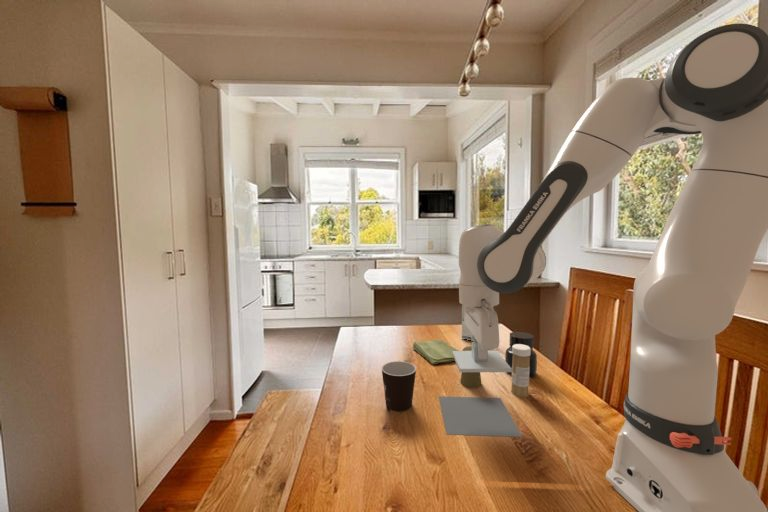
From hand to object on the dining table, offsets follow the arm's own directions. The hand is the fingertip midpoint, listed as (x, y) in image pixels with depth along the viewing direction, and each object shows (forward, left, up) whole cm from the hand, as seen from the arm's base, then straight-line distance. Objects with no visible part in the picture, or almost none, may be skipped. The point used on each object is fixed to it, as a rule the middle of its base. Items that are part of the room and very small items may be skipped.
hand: (479, 354), depth 76 cm
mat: (0, +1, -15) cm, 15 cm away
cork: (+16, -1, -16) cm, 23 cm away
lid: (0, 0, -2) cm, 2 cm away
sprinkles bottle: (+11, -13, -16) cm, 24 cm away
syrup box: (+56, -9, -16) cm, 59 cm away
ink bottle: (+25, -18, -16) cm, 35 cm away
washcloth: (+39, +6, -16) cm, 43 cm away
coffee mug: (+5, +19, -16) cm, 25 cm away
